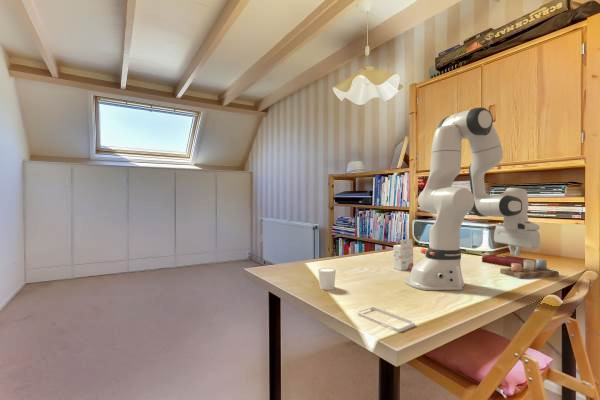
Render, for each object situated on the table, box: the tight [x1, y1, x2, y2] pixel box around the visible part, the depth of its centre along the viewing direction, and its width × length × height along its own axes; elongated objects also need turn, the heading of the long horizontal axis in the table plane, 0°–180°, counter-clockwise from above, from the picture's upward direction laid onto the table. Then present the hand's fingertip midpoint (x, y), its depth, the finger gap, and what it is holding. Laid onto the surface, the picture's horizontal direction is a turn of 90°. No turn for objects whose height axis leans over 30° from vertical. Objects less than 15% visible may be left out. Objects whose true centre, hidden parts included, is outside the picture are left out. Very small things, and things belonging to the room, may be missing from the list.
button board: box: [499, 267, 560, 280], centre depth 135 cm, size 20×10×2 cm, turn 100°
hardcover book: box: [481, 253, 536, 268], centre depth 155 cm, size 12×21×4 cm, turn 29°
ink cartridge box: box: [393, 238, 414, 271], centre depth 148 cm, size 9×5×15 cm, turn 118°
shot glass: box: [317, 267, 337, 291], centre depth 117 cm, size 7×7×7 cm
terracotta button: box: [510, 263, 522, 272], centre depth 133 cm, size 4×4×4 cm
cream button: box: [524, 260, 534, 271], centre depth 135 cm, size 4×4×4 cm
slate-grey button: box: [535, 258, 548, 271], centre depth 136 cm, size 4×4×4 cm
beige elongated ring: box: [356, 306, 415, 333], centre depth 86 cm, size 7×1×15 cm
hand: (514, 255), depth 133 cm, fingers closed
